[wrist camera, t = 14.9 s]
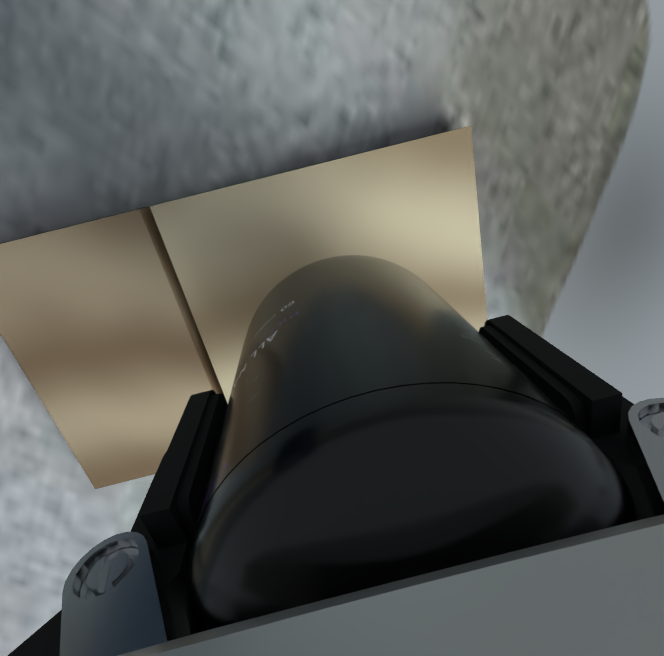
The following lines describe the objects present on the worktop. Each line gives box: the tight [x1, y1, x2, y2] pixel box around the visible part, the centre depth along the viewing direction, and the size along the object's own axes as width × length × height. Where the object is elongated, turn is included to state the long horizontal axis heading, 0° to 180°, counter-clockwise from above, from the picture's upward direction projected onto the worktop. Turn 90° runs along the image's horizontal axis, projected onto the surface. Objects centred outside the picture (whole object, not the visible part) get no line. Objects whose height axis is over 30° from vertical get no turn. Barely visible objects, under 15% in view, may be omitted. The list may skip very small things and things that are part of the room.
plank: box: [150, 126, 487, 403], centre depth 17 cm, size 12×12×1 cm
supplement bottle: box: [186, 255, 642, 635], centre depth 8 cm, size 7×7×12 cm
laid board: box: [0, 206, 228, 489], centre depth 17 cm, size 12×7×1 cm, turn 13°
